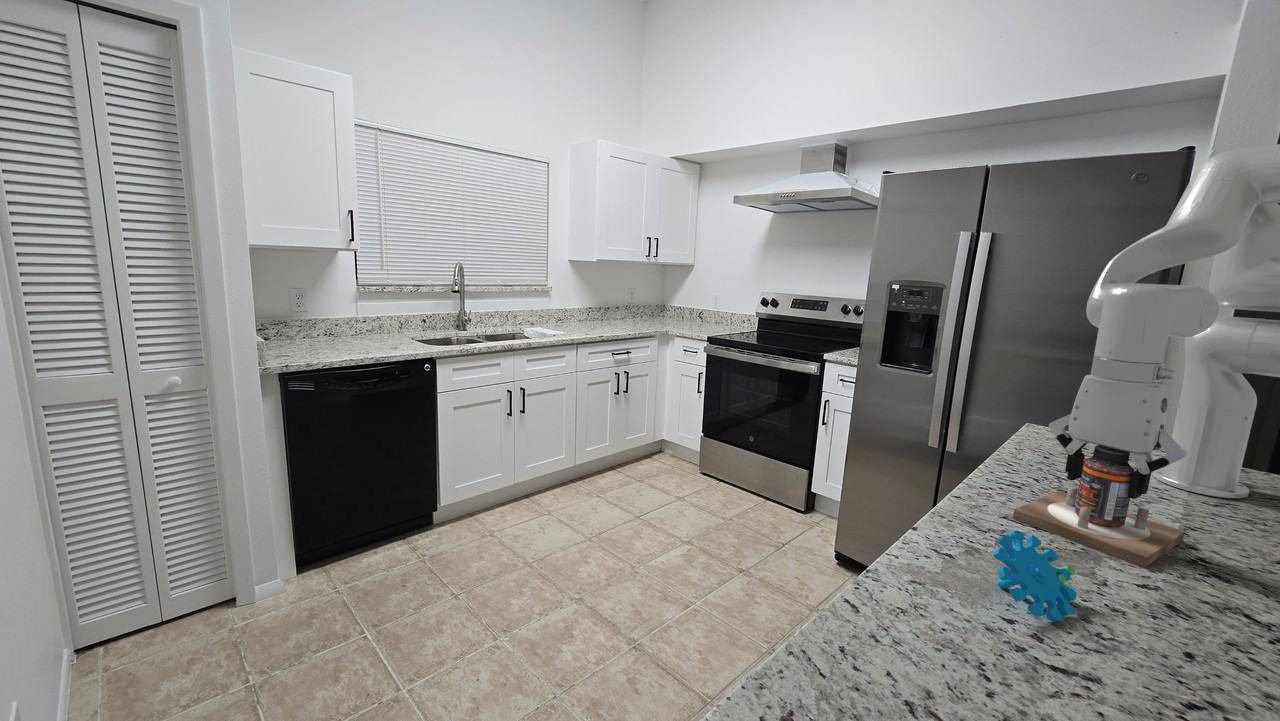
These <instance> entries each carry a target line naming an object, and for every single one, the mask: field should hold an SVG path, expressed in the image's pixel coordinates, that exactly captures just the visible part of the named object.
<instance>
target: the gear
mask: <svg viewBox="0 0 1280 721" xmlns="http://www.w3.org/2000/svg"><path fill="white" fill-rule="evenodd" d="M996 539H997V540H996V541H997V543H998V544H999V545H1000V547H997V548H996V549H994V551H993V553H992V554H993V558H995V559H996V560H997V561H1000V562H1002V563H1003V565H1006V566H1002V567H999V568H997V575H998V578H999V580H997V586H998V587H999V588H1000V589H1002V590H1003V589H1008V588H1011V589H1009V594H1010V596H1011V597H1012V599H1013V600H1014V601H1015V602H1021V601H1024V600H1026V598H1027V596H1029V597H1031V598H1032V599H1033V603H1031V604H1029V605H1027V610H1028V612H1029V613H1030V614H1031V615H1032V616H1034V617H1035V618H1040V617H1044V616H1045V617H1046V619H1048V620H1049V621H1050V622H1056V623H1057V622H1058V623H1059V622H1060V621H1061V622H1063V617H1064V616H1068V615H1069V616H1070V615H1072V614H1075V609H1074V607H1073V606H1072V605H1071V604H1070V602H1072V601H1076V600H1077V594H1078V593H1077V592H1076V590H1075V589H1073V588H1070V587H1069V586H1067V585H1066V583H1067V582H1068V581H1071V580H1072V578H1071V576H1073V575H1076V569H1075V567H1074V566H1072V565H1069V564H1068V565H1065V566H1061V567H1059V568H1057V567H1056V566H1053V565H1052V564H1051V562H1055V561H1058V560H1059V556H1058V555H1057V554H1056V552H1055V551H1054V549H1053V548H1049V549H1046V550H1044V551H1043V552H1042V553H1039V552H1037V550H1036V547H1040V546H1041V545H1042V541H1041V540H1040V539H1039V538H1038V537H1037V536H1036V535H1034V534H1032V535H1030V536H1029V535H1028V536H1026V538H1025V534H1024V532H1022V531H1020V530H1016V529H1015V530H1012V531H1009V534H1004V535H1002V536H1000V537H998V538H996ZM1024 540H1025V541H1026V546H1024V544H1023V541H1024ZM1015 586H1019V587H1015ZM1012 587H1014V588H1012ZM1044 604H1046V607H1047V609H1046V611H1045V609H1044Z"/></svg>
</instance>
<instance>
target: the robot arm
mask: <svg viewBox="0 0 1280 721" xmlns="http://www.w3.org/2000/svg"><path fill="white" fill-rule="evenodd" d="M1181 195H1182V196H1181V197H1180V199H1179V200H1178V203H1177V205H1176V207H1175V208H1174V210H1173V212H1172V213H1171V215H1170V218H1169V219H1168V222H1167V223H1166V225H1165V226H1164V227H1161V228H1159V229H1158V230H1155V231H1153V232H1151V233H1150V234H1148V235H1146V236H1144V237H1142V238H1140V239H1138V240H1137V241H1136V242H1134V243H1132V244H1131V245H1129V246H1128V247H1126V248H1125V249H1123V250H1122V251H1120V252H1119V253H1118V254H1116V255H1115V256H1114V257H1112V259H1111V260H1110V261H1109V262H1108V263H1107V264H1106V266H1105V267H1104V268H1103V270H1102V272H1101V274H1100V276H1099V277H1098V279H1097V280H1096V281H1095V284H1094V286H1093V288H1092V290H1091V293H1090V295H1089V296H1088V300H1087V302H1086V318H1087V319H1088V321H1089V323H1090V324H1091V325H1093V326H1094V327H1096V328H1098V330H1097V336H1096V342H1095V348H1094V354H1093V359H1092V364H1091V371H1090V374H1087V375H1085V376H1084V378H1083V380H1082V382H1081V384H1080V387H1079V389H1078V391H1077V393H1076V397H1075V399H1074V403H1073V406H1072V410H1071V413H1069V414H1067V415H1065V416H1063V417H1060V418H1058V419H1056V420H1053V421H1052V422H1050V423H1049V424H1048V428H1049V429H1050V430H1051V432H1052V433H1053V435H1054V436H1055V437H1056V440H1057V441H1058V442H1059V444H1060V445H1061V446H1062V447H1063V449H1064V452H1065V453H1066V454H1067V456H1066V462H1065V463H1066V464H1065V469H1064V471H1065V473H1067V478H1066V479H1067V480H1068V481H1076V480H1078V479H1080V478H1081V473H1082V468H1083V463H1084V461H1085V459H1086V458H1085V456H1086V454H1085V452H1083V449H1084V448H1086V446H1087V445H1088V444H1093V445H1096V446H1097V445H1101V446H1105V447H1109V448H1113V449H1117V450H1121V451H1126V452H1130V454H1131V455H1132V458H1133V460H1134V462H1135V464H1136V465H1135V466H1136V470H1135V471H1134V472H1133V473H1132V477H1131V482H1130V487H1129V492H1128V497H1129V498H1130V500H1136V499H1138V498H1139V497H1142V495H1146V494H1147V493H1148V490H1149V485H1150V480H1151V475H1152V477H1154V478H1155V479H1156V480H1158V481H1159V482H1161V483H1164V484H1166V485H1168V486H1172V487H1175V488H1178V489H1180V490H1184V491H1188V492H1192V493H1196V494H1200V495H1205V496H1209V497H1216V498H1223V499H1224V498H1225V499H1245V498H1247V497H1248V496H1249V495H1250V489H1249V487H1248V486H1246V485H1244V484H1242V483H1240V482H1239V480H1240V476H1241V472H1242V467H1243V463H1244V459H1245V455H1246V451H1247V447H1248V443H1249V442H1248V441H1249V437H1250V434H1251V429H1252V425H1253V421H1254V417H1255V412H1256V409H1257V404H1258V397H1257V394H1256V391H1255V389H1254V388H1253V387H1252V386H1251V384H1250V383H1249V381H1248V380H1247V379H1246V378H1245V376H1244V375H1243V374H1248V375H1249V374H1250V375H1251V374H1253V375H1260V376H1267V377H1268V376H1269V377H1274V378H1280V320H1277V319H1265V318H1257V317H1256V318H1253V317H1240V316H1219V311H1220V310H1219V308H1220V307H1221V308H1225V309H1232V310H1233V309H1234V310H1242V311H1243V310H1244V311H1254V312H1255V311H1257V312H1271V313H1272V312H1274V313H1280V143H1279V144H1270V145H1269V144H1268V145H1261V146H1252V147H1245V148H1238V149H1233V150H1231V149H1230V150H1227V151H1223V152H1220V153H1217V154H1214V155H1213V156H1210V157H1208V158H1207V159H1205V160H1204V161H1203V162H1201V163H1200V165H1199V166H1198V167H1197V169H1195V172H1194V173H1193V175H1192V177H1191V179H1190V181H1189V182H1188V184H1187V186H1186V188H1185V189H1184V191H1183V193H1182V194H1181ZM1210 257H1214V259H1213V263H1212V268H1211V272H1210V276H1209V277H1210V278H1209V282H1208V283H1209V284H1208V289H1207V288H1206V289H1205V288H1203V287H1200V286H1195V285H1194V286H1193V285H1186V284H1185V285H1184V284H1183V285H1182V284H1181V285H1180V284H1162V283H1160V284H1159V283H1141V282H1140V283H1137V281H1140V280H1141V279H1143V278H1145V277H1146V276H1149V275H1150V274H1153V273H1154V274H1155V273H1156V272H1159V271H1162V270H1165V269H1169V268H1173V267H1176V266H1181V265H1186V264H1188V263H1192V262H1196V261H1200V260H1203V259H1207V258H1210ZM1170 337H1171V338H1184V363H1185V364H1184V375H1183V382H1182V388H1181V392H1180V396H1179V401H1178V406H1177V412H1176V415H1175V419H1174V420H1175V421H1174V424H1173V425H1174V426H1173V429H1172V434H1171V436H1170V434H1168V433H1167V431H1166V430H1167V424H1168V423H1167V420H1168V410H1169V408H1168V406H1169V405H1168V404H1169V396H1168V395H1169V393H1168V386H1167V385H1165V384H1160V382H1162V381H1163V380H1174V379H1175V378H1176V374H1177V371H1176V370H1175V369H1169V367H1167V366H1165V365H1166V363H1165V362H1164V361H1165V356H1166V352H1167V346H1168V341H1169V338H1170ZM1066 426H1068V427H1067V428H1068V433H1067V430H1066V428H1065V427H1066ZM1162 448H1164V449H1165V451H1166V454H1165V455H1163V456H1162V457H1159V458H1156V459H1154V457H1153V455H1152V452H1153V451H1159V450H1161V449H1162Z"/></svg>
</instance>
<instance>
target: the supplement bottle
mask: <svg viewBox="0 0 1280 721" xmlns="http://www.w3.org/2000/svg"><path fill="white" fill-rule="evenodd" d="M1092 453H1093V455H1091V457H1087V458H1085V459H1084V463H1083V468H1082V473H1081V477H1080V478H1079V479H1080V480H1079V485H1078V492H1077V500H1076V504H1075V513H1076V514H1077V515H1078V516H1079V513H1080V508H1081V507H1087V508H1090V509H1091V513H1090V519H1089V522H1091V523H1093V524H1097V525H1101V526H1107V527H1120V526H1123V525H1124V524H1125V520H1126V516H1127V513H1128V510H1129V506H1130V501H1131V498H1129V497H1128V492H1129V487H1130V482H1131V477H1132V473H1133V472H1134V471H1136V470H1135V468H1134V467H1133V466H1132V465H1130V463H1129V461H1130V455H1131V453H1130V452H1126V451H1121V450H1117V449H1113V448H1109V447H1105V446H1101V445H1097V444H1096V445H1095V446H1094V450H1093V452H1092Z"/></svg>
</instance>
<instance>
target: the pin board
mask: <svg viewBox="0 0 1280 721" xmlns="http://www.w3.org/2000/svg"><path fill="white" fill-rule="evenodd" d="M1078 489H1079V487H1078V488H1077V487H1075V486H1068V488H1067V493H1064V492H1062V491H1056V492H1052V493H1050V494H1047V495H1045V496H1043V497H1040V498H1038V499H1036V500H1033V501H1031V502H1028V503H1026V504H1024V505H1021V506H1019V507H1016V508H1014V509H1013V514H1012V519H1014V520H1017V521H1019V522H1022V523H1025V524H1027V525H1031V526H1033V527H1035V528H1038V529H1041V530H1044V531H1046V532H1048V531H1049V533H1051V532H1052V533H1051V534H1054V535H1056V534H1057V535H1056V536H1059V535H1060V536H1059V537H1061V538H1065V539H1067V540H1069V541H1071V542H1075V543H1078V544H1080V545H1083V546H1085V545H1086V547H1088V548H1091V549H1094V550H1096V551H1098V552H1102V553H1105V554H1107V555H1109V554H1110V556H1112V557H1115V558H1118V559H1120V560H1123V561H1125V562H1128V563H1131V564H1134V565H1136V566H1139V567H1141V568H1144V569H1145V568H1147V567H1148V566H1149V565H1151V564H1152V563H1154V562H1155V561H1156V560H1158V559H1159V558H1161V557H1162V556H1164V555H1165V554H1167V552H1169V551H1171V550H1172V549H1174V548H1176V546H1178V545H1179V544H1181V543H1182V542H1184V538H1185V533H1186V532H1185V531H1184V530H1181V529H1178V528H1176V527H1173V526H1169V525H1167V524H1162V523H1160V522H1156V521H1153V520H1150V519H1148V518H1149V514H1150V510H1149V509H1147V508H1144V507H1138V508H1137V512H1136V515H1135V514H1130V513H1128V512H1127V516H1126V520H1125V524H1124V525H1123V526H1120V527H1107V526H1101V525H1097V524H1093V523H1091V522H1089V519H1090V513H1091V509H1090V508H1087V507H1081V508H1080V513H1079V516H1078V515H1077V514H1076V513H1075V504H1076V500H1077V494H1078Z"/></svg>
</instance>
